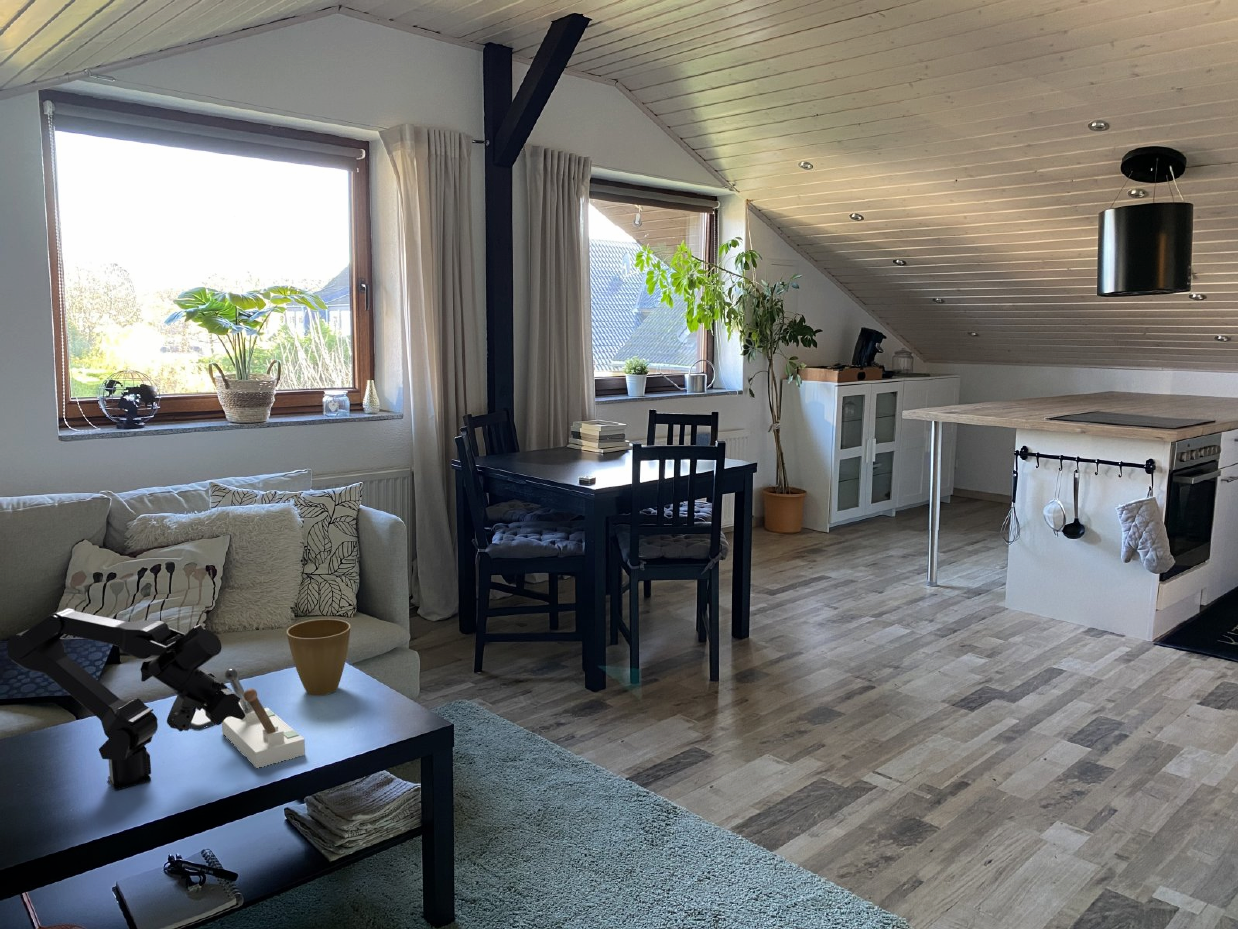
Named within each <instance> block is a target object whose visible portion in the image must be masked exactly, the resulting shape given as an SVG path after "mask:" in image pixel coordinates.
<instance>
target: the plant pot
mask: <svg viewBox="0 0 1238 929" xmlns="http://www.w3.org/2000/svg"><path fill="white" fill-rule="evenodd" d="M350 634H351V624H350V623H349V622H347V621H346V620H341V619H335V618H334V619H333V618H321V619H318V618H317V619H310V620H306V621H303V622H299V623H296V624H294V625H292V626H290V627H288V628H287V629H286V636H287V637H286V638H287V641H288V645H289V649H290V650H289V651H290V653H291V657H292V661H293V664H294V667H295V669H296V672H297V675H298V678H299V679H300V681H301V684H302V686H303V688H304V690H305V692H306V694H307V695H310V696H316V697H317V696H318V697H319V696H326V695H330V694H333V693H335V692H336V691H337V690H338V688H339V685H340V682H341V678H342V676H343V672H344V669H345V664H346V660H347V657H348V656H347V655H348V650H349V643H350V642H349V641H350V636H351V635H350Z"/></svg>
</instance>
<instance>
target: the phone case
mask: <svg viewBox="0 0 1238 929" xmlns="http://www.w3.org/2000/svg"><path fill="white" fill-rule="evenodd" d="M239 705H240V706H241V704H240V702H239ZM241 708H242V706H241ZM242 709H243V708H242ZM227 717H231V716H227ZM227 717H226V718H227ZM213 724H214V725H216V724H215V723H213V722H212V721H210V720H209V719H208V717H207V716H206V715H205V711H204V710H203V709H201V710H200V711H199V710H198V709H196V712H195V714H194V717H193V719H192V722H191V727H192V728H191V727H190V728H191V729H193V728H194V729H193V730H196V729H199V730H203V729H202V728H204V727H206V726H209V727H211V726H210V725H212V726H214V725H213ZM206 728H207V727H206ZM204 729H205V728H204Z"/></svg>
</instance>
